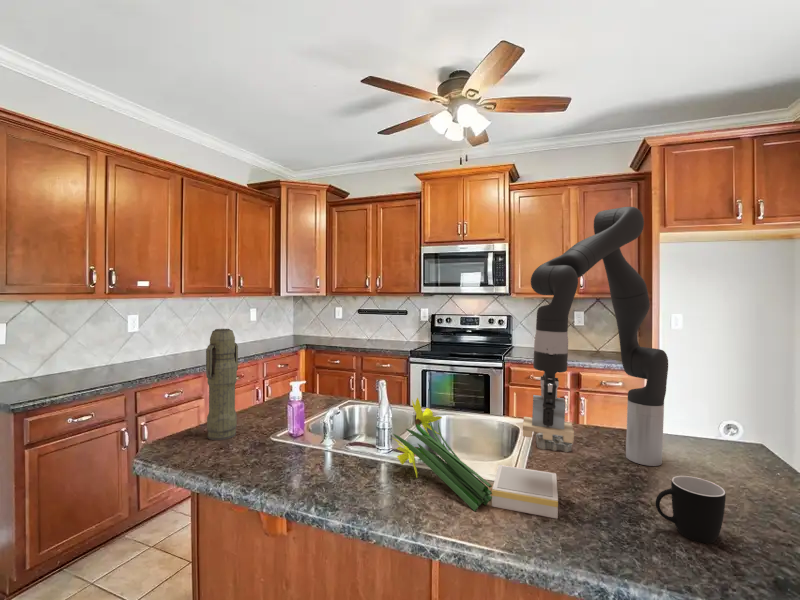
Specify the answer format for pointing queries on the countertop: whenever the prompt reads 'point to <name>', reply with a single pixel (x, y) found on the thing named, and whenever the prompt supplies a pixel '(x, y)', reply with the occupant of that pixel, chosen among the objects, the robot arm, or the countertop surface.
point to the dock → (525, 491)
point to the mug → (695, 507)
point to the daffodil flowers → (444, 461)
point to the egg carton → (553, 443)
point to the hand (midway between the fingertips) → (547, 421)
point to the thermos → (222, 384)
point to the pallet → (548, 430)
